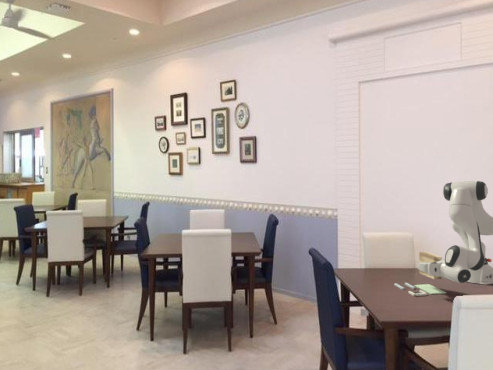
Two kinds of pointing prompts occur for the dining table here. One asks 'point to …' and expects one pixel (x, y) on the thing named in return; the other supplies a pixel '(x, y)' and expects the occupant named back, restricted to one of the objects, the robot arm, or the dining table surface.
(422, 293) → the trap pen
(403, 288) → the track
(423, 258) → the board
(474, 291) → the dining table surface
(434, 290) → the pad
